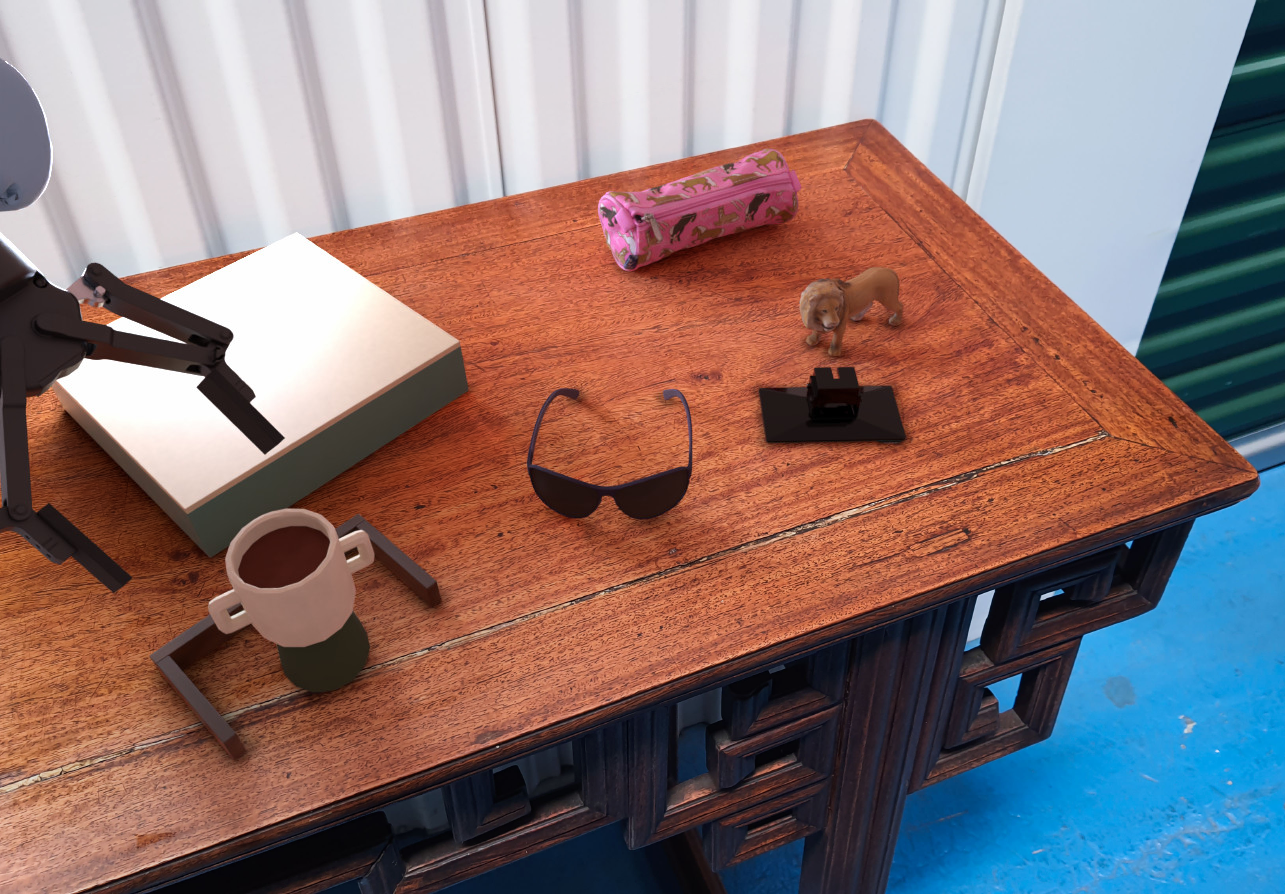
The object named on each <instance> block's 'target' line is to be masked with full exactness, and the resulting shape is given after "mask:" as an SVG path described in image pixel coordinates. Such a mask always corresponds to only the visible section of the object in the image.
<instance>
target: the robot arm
mask: <svg viewBox="0 0 1285 894" xmlns="http://www.w3.org/2000/svg"><path fill="white" fill-rule="evenodd" d="M46 116H47V115H46V113H45V110H44V108H43V105H42V103H41V101H40V99H39V97H38V95H37V93H36V92H35V90H34V89H33V87H32V85H31V84H30V83H29V81H28V80H27V79H26V78H25V76H24V75H23V74H22V73H21V72H20V71H19V70H18V69H17V68H16V67H14V66H13V65H12V64H11V63H10V62H8V61H6V60H5V59H3V58H1V57H0V213H1V212H3V213H4V212H16V211H21V210H24V209H27V208H29V207H31V206H32V205H34V204H35V203H36V202H37V201H38V200H39V199H40V197H41V196H42V195H43V194H44V192H45V191H46V189H47V187H48V185H49V181H50V179H51V174H52V169H53V143H52V139H51V137H50V136H51V135H50V130H49V126H48V120H47V117H46ZM82 304H85V305H88V306H90V307H91V308H104V309H105V310H107V311H109V312H110V313H113V314H115V315H117V316H119V317H120V318H122V317H124V318H126V319H128V320H131V321H133V322H136V323H138V324H140V325H143V326H145V327H148V328H150V329H153V330H155V331H157V332H160V333H162V334H165V335H167V336H170V337H172V338H174V339H177V340H179V341H182V342H184V343H181V342H175V341H170V340H165V339H160V338H155V337H149V336H144V335H139V334H134V333H129V332H123V331H118V330H115V329H113V328H112V327H111V326H108V324H104V323H103V324H102V323H97V322H92V321H89V320H88V321H87V320H83V315H82V310H81V305H82ZM233 339H234V334H233V332H232V331H231V330H230V329H229V328H227V327H225V326H222V325H220V324H218V323H215V322H213V321H211V320H208V319H206V318H204V317H202V316H199V315H197V314H195V313H192V312H190V311H188V310H185V309H183V308H181V307H178V306H176V305H174V304H171V303H169V302H167V301H164V300H162V299H161V298H160V297H157V296H155V295H153V294H151V293H148V292H146V291H143V290H141V289H138V288H137V287H134V286H132V285H129V284H127V283H125V282H124V281H123V280H122V279H120V278H119V277H118V276H117V275H115V274H114V273H113V272H111V271H110V270H109V269H107V267H105V265H103V264H101V263H99V262H90V263H88V264H87V265H86V267H85V269H84V270H83V273H82V275H80V277H79V278H77V280H75V281H74V282H73V283H72V284H70V285H69V286H68V287H67V288H66V289H65V288H61V287H60V286H57V285H55V284H54V283H52V282H51V281H49V279H47V278H46V276H44V274H43V273H42V272H41V271H40V269H39V268H37V266H36V265H35V264H34V263H32V261H31V260H29V259H28V258H27V257H26V256H25V254H23V253H22V252H21V251H20V250H19V249H18V248H17V247H16V246H15V245H14V244H13V243H12V242H11V241H10V240H9V239H8V238H7V237H6V236H4V235H3V233H1V232H0V494H1V496H0V497H1V507H0V534H3V533H6V532H12V533H13V532H14V533H16V534H17V535H19V536H21V537H22V538H23V539H24V540H25V541H26V542H28V543H29V544H30V545H31V546H32V547H33V548H34V549H36V551H38V552H39V553H40V554H42V555H43V556H44V557H45V558H46V559H47V560H48V561H50V562H51V563H53V564H57V565H59V566H62V565H63V564H64V563H65V562H66V561H67V560H69V558H71V557H72V559H74V560H75V561H76V562H77V563H78V564H79V565H80V566H82V567H83V568H84V569H85V570H86V571H87V572H88V573H89V574H91V575H92V576H93V577H94V578H95V579H97V581H99V583H101V584H102V585H103V586H104V587H106V589H108V590H109V591H110V592H111V593H112V594H115V593H117V592H118V591H120V590H121V589H122V588H123V587H125V586H126V585H128V584H129V582H130V581H131V580H133V578H134V577H133V576H132V575H130V573H128V572H127V570H125V569H124V568H123V567H121V565H119V563H117V562H116V561H115V560H114V559H113V558H112V557H111V556H110V555H108V554H107V553H106V552H105V551H104V550H103V549H102V548H100V547H99V546H98V545H97V544H96V543H95V542H94V541H93V540H91V539H90V538H89V537H88V536H87V535H86V534H85V533H84V532H82V530H80V529H79V528H78V527H77V526H76V525H75V524H73V523H72V522H71V521H70V520H69V519H68V518H67V517H66V516H65V515H63V514H62V513H61V512H60V511H59V510H58V509H57V508H56V507H54V506H53V505H52V504H51V503H50V502H47V503H46V504H45V505H44V506H43V507H42V508H40V509H39V510H38V511H37V512H36V510H35V509H34V508H33V497H32V496H33V495H32V481H31V465H30V450H29V436H28V435H29V434H28V420H27V403H28V402H27V401H28V399H27V398H33V397H37V398H39V397H41V396H42V395H44V394H45V393H47V392H48V391H49V390H50V389H51V386H52V385H53V383H54V382H55V381H56V380H58V379H61V378H63V377H66V376H68V375H70V374H71V373H73V372H74V371H75V370H77V369H78V368H79V366H80V365H81V363H82V361H83V360H84V358H85V359H90V360H112V361H118V362H123V363H129V364H135V365H140V366H146V367H152V368H157V369H163V370H169V371H174V372H180V373H186V374H192V375H197V376H204V377H205V378H204V379H203V380H202V381H201V382H200V384H199V385H198V386H197V387H196V388H197V389H198V390H199V391H200V392H201V393H202V394H203V395H204V396H205V397H206V398H207V399H208V400H209V401H210V402H211V403H212V404H213V405H214V406H215V407H216V408H218V409H219V410H220V411H221V412H222V413H223V414H224V415H225V416H226V417H227V418H228V419H229V420H230V421H231V422H232V423H233V424H234V425H235V426H236V427H237V428H238V429H239V430H240V431H241V432H242V433H243V434H244V435H245V436H246V437H247V438H248V439H249V440H250V441H251V442H252V443H253V444H254V445H255V446H256V447H257V448H258V449H259V450H260V451H261V452H262V453H263V454H264V455H265V454H267V453H268V452H269V451H270V450H272V449H273V448H274V447H276V446H277V445H278V444H279V443H280V442H281V441H283V440H284V439H285V437H284V436H283V435H282V434H281V433H280V432H279V431H278V430H277V429H276V428H275V427H274V426H273V425H272V424H271V423H270V422H269V421H268V420H267V419H266V418H265V417H264V416H263V415H262V414H261V413H260V412H259V411H258V410H257V409H256V408H255V407H254V406H253V405H252V404H251V403H250V402H251V401H252V400H253V399H254V398H255V397H256V396H255V394H254V391H253V390H252V389H251V388H250V387H249V386H248V385H247V384H246V383H245V382H244V381H243V380H242V379H241V378H240V377H239V376H238V375H237V374H236V373H235V372H234V371H233V370H232V369H231V368H230V367H229V366H228V364H227V363H226V361H225V356H226V353H225V352H226V351H227V349H228V347H229V345H230V343H231V342H232V340H233Z"/></svg>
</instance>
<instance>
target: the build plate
mask: <svg viewBox="0 0 1285 894" xmlns="http://www.w3.org/2000/svg"><path fill="white" fill-rule="evenodd" d="M832 369H833V368H832V367H831V366H830V367H829V366H824V367H823V366H822V367H821V366H819V367H813V372H812V373H813V374H811V375H809V379H808V382H807V383H806V386H794V387H793V386H790V387H789V386H787V387H783V386H782V387H759V389H758V396H759V404H760V409H761V410H760V411H761V417H762V423H763V431H764V439H765V443H766V444H768V445H770V444H820V443H821V444H823V443H825V444H827V443H828V444H829V443H873V442H875V443H878V444H881V445H883V444H886V445H887V444H891V445H893V444H900V443H902V442H905V441H906V440H907V439H906V438H907V436H906V431H905V428H904V425H903V422H902V418H901V414H900V410H899V407H898V404H897V400H896V396H895V393H894V389H893V387H892V386H891V385H860V384H859V380H858V376H857V371H856V367H855V366H837V367H836V372H837V373H836V374H837V378H834V373H833V370H832Z"/></svg>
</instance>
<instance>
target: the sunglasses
mask: <svg viewBox="0 0 1285 894" xmlns="http://www.w3.org/2000/svg"><path fill="white" fill-rule="evenodd" d="M662 395H663V398H664V400H665V401H668V400H671V399H672V398H674V397H677V398H678V399H679V400H680V401H681V403H682V406H683V408H684V410H685V415H686V420H687V430H688V433H687V434H688V443H689V444H688V462H687V466H684V465H683V466H682V465H681V466H678V467H675V468H671V469H667V470H664V471H660V472H658V473H655V474H651V475H648V476H644V477H642V478H639V479H635V480H632V481H628V482H624V483H620V484H616V485H599V484H593V483H590V482H587V481H585V480H580V479H577V478H575V477H571V476H569V475H566V474H563V473H560V472H557V471H555V470H552V469H550V468H546V467H544V466H541V465H538V464H536V463H535V464H534V463H533V460H534V454H535V451H536V444H537V440H538V436H539V433H540V429H541V425H542V422H543V419H544V417H545V414H546V412H547V410H548V409H549V406H550V405H551V404H552V402H553V401H554V400H555V399H556V398H558V397H560V396H563V397H565V398H570V399H573V400H577V399H578V398H579V396H580V390H579V389H578V388H569V387H561V388H557V389H556V390H554V391H552V392H551V393H550V394H549V396H547V398H546V400H545V401H544V403H542V406H541V408H540V410H539V413H538V414H537V417H536V420H535V423H534V427H533V430H532V434H531V438H530V442H529V448H528V451H527V456H526V468H527V469H526V470H527V474H528V477H529V481H530V483H531V487H532V489H533V492H534V493H535V495H536V497H538V498H539V500H540V501H541V502H542V503H543V504H544V505H545V506H546V507H547V508H548V509H550V510H552V511H553V512H555V513H556V514H559V515H561V516H563V517H567V518H568V519H569V518H570V519H574V520H575V519H578V520H581V519H585V518H587V517H589V516H592V514H594V513H595V512H596V511H597V509H598V508H599V506H600V505H601V503H602V500H603V497H611V498H612V499H613V501H614V503H615V506H616V507H618V509H619V510H620V511H621V512H622V513H623V514H624V515H625V516H627V517H628V518H631V519H634V520H638V521H641V520H650V519H654V518H657V517H660V516H662V515H664V514H666V513H668V512H670V511H671V510H673V509H674V508H675V507H677V506H678V504H680V502H681V501H682V500H683V499H684V498H685V496H686V494H687V492H688V489H689V485H690V479H691V478H692V474H693V460H694V459H693V453H694V452H693V451H694V450H693V441H694V440H693V421H692V415H691V410H690V406H689V402H688V401H687V398H686V396H685V395H684V394H683V392H682V391H680V390H679V389H676V388H667V389H663V390H662Z"/></svg>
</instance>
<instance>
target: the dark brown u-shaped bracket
mask: <svg viewBox="0 0 1285 894" xmlns="http://www.w3.org/2000/svg"><path fill="white" fill-rule="evenodd" d="M335 530H336V533H337V536H338V538H339V539H340V538H342V537H344V536H346V535H348V534H350V533H352V532H354V531H358V530H363V531H365V532H366V533H367V534H368V536H369V539H370V542H371V545H372V548H373V551H374V559H376V560H377V561H378V562H380V564H382V565H383V566H384V567H385V568H386V569H388V570H389V571H390V572H391V573H392V574H393V575H394V576H395V577H396V578H397V579H399V580H400V581H401V582H402V583H403V584H405V585H406V587H408V588H409V589H410V590H411V591H412V592H413V593H415V594H416V596H418V597H419V598H420V599H421V600H422V601H423V602H425V603H426V604H427V605H428V606H429V607H430V608H435V606H437V605H438V604H440V603H441V602H442V600H443V598H442V596H441V591H440V588H439V584H438V581H437V580H436V579H435V578H434V577H433V576H432V575H430V574H429V573H428V572H427V571H426V570H425V569H424V568H423V567H421V566H420V565H419V564H418V563H416V562H415V561H414V560H413V559H412V558H411V557H409V556H408V555H407V553H405V552H404V551H403V550H402V549H400V548H399V547H398V546H397V545H396V544H395V543H393V541H391V540H390V539H389V538H388V537H386V536H385V535H384V534H383V533H382V532H381V531H380V530H378V528H376V527H375V526H373V524H371V523H370V522H369V521H368V520H367V519H366V518H365V517H364V516H363V515H361V514H360V513H357V514H355V515H353V516H352V517H350V518H349V519H348V520H346V521H344V522H343V523H342V524H340V525H338V526H337V527H336V528H335ZM356 551H358V549H357V547H355V548H353V549H351V550H349V551H346V552H344V555H345V557H346V558H348V557H349V556H350V555H352V554H353V553H355V552H356ZM226 610H227V611H228V613H229V615H230V617H231V616H233V615H235V614H238V613H240V612H242V611H244V608H243V606H242V604H241V602H240V603H238V604H236V605H234V606H232V607H230V608H228V609H226ZM249 626H251V624H249V625H247V626H245V627H243V628H241V629H239V630H237V631H235V632H232V633H229V634H225V633H223V632H222V631H220V630H219V629H218V627H217V626H216V624H215V622H214V620H213V618H212V617H211V615H210V614H208V615H207V616H205V617H204V618H202V619H200V620H199V621H197V622H196V623H194V625H193V624H192V626H191V627H189V628H187V629H186V630H184V631H183V632H181V633H180V634H178V635H177V636H176V637H174V638H173V639H171V640H170V641H168V642H167V643H165V644H163V646H161V647H160V648H158V649H157V650H155V651H154V652H152V653H151V654H149V655H148V657H149V658H150V660H151V661H152V663H153V664H154V666H155V668H156V669H157V670H158V672H159V674H160V675H161V676H162V677H163V679H164V680H165V681H166V682H167V683H168V684H169V685H170V687H171V688H172V689H173V690H174V692H175V693H176V694H177V695H178V696H179V697H180V699H181V700H182V701H183V702H184V703H185V704H186V706H187V708H189V709H190V711H191V712H192V713H193V714H194V715H195V716H196V718H197V719H198V720H199V722H201V724H202V725H203V726H204V727H205V728H206V730H207V731H208V732H209V733H210V735H212V737H213V738H214V739H215V740H216V741H217V743H218V744H219V745H220V746H221V747H222V748H223V750H224V751H225V752H226V753H227V754H228V756H229V757H230V758H231V759H232V760H233V761H234V762H235V761H237V760H238V759H239V758H241V757H242V756H243V755H244V754H245V753H247V752H248V750H247V748H246V747H245V744H243V742H242V740H241V738H240V737H239V735H238V734H237V732H236V731H235V730H234V729H233V727H232V726H231V725H230V724H229V723H228V722H227V721H226V719H225V718H224V717H223V716H222V715H221V714H220V713H219V711H218V710H217V709H216V708H215V707H214V705H213V704H212V703H211V702H210V701H209V700H208V699H207V697H205V695H204V694H203V692H201V690H200V689H199V688H198V687H197V685H195V684H194V683H193V681H192V680H191V679H190V678H189V676H188V675H187V674H186V673H185V671H187V670H188V669H189V668H190V667H192V666H193V665H195V664H196V663H198V662H199V661H201V660H202V659H203V658H205V657H207V656H208V655H209V654H211V653H212V652H214V651H215V650H216V649H218V648H219V647H220V646H222V645H223V644H226V643H227V642H228V641H229V640H231V639H232V638H234V637H235V636H237V635H238V634H239V633H240V632H242V631H243V630H245V629H246V628H247V627H249Z"/></svg>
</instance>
